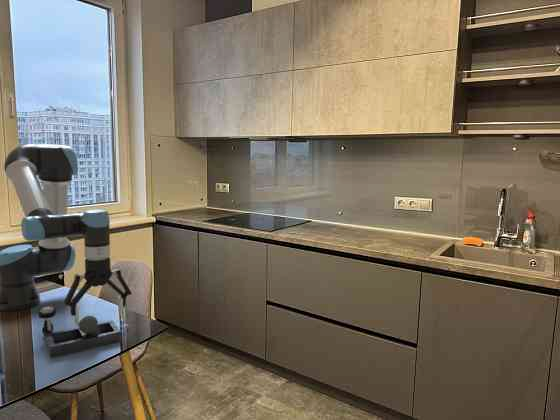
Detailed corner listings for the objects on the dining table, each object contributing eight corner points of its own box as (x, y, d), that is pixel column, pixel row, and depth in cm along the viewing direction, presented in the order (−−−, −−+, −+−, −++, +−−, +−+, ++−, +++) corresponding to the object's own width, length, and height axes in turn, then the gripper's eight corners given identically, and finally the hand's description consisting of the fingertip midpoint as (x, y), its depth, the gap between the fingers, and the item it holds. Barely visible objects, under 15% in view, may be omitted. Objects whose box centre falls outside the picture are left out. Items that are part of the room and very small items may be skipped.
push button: (35, 335, 136) (34, 306, 135) (53, 330, 140) (51, 303, 139) (42, 342, 132) (40, 312, 130) (59, 337, 135) (58, 308, 134)
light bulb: (93, 332, 137) (78, 314, 131) (108, 329, 137) (94, 310, 131) (88, 346, 132) (73, 328, 126) (105, 342, 132) (90, 324, 126)
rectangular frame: (45, 344, 130) (45, 333, 130) (112, 329, 142) (112, 320, 142) (50, 358, 122) (49, 347, 121) (121, 341, 134) (120, 331, 133)
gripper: (55, 265, 121) (58, 332, 124) (140, 255, 135) (141, 315, 138) (52, 259, 127) (55, 324, 130) (133, 250, 141) (134, 308, 144)
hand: (99, 320), depth 134 cm, fingers open, 13 cm apart
